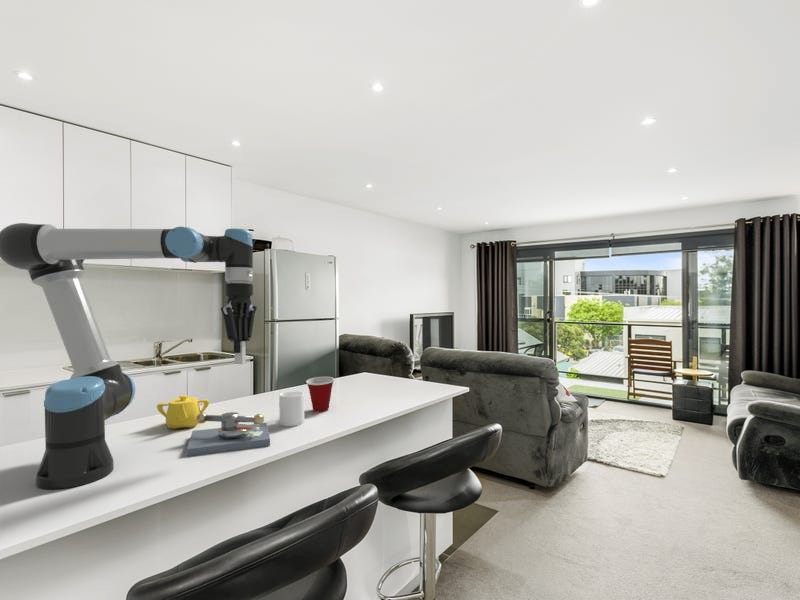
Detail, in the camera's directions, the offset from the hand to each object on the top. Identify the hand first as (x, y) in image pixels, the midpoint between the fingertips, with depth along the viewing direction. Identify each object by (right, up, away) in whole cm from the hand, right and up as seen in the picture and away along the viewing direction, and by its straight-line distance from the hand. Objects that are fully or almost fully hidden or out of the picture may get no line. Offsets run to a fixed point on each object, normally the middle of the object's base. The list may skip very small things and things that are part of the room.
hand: (240, 363), depth 123 cm
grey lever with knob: (-5, -22, +5) cm, 23 cm away
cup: (+8, -24, +25) cm, 36 cm away
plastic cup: (+16, -24, +40) cm, 49 cm away
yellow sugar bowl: (-27, -25, +21) cm, 42 cm away
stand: (-5, -24, +5) cm, 25 cm away
